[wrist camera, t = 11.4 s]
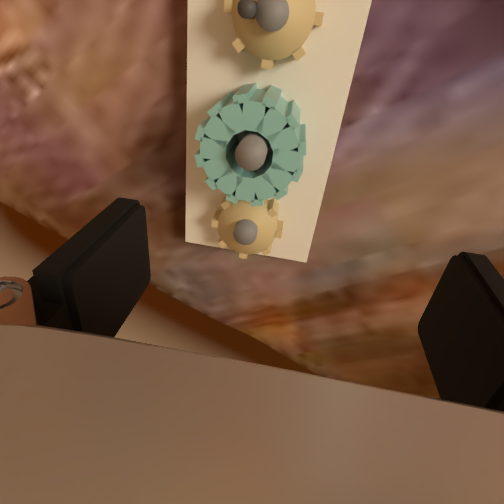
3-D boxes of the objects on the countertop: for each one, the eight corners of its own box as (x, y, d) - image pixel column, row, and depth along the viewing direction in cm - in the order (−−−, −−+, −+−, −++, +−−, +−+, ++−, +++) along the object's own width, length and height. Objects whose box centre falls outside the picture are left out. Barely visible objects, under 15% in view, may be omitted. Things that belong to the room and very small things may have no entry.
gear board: (377, -42, 22) (407, -71, 16) (306, 251, 35) (306, 303, 29) (197, -66, 23) (152, -102, 16) (191, 231, 36) (164, 278, 29)
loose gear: (315, 90, 25) (316, 103, 21) (296, 187, 30) (294, 213, 25) (213, 76, 26) (195, 86, 22) (209, 173, 30) (193, 197, 26)
